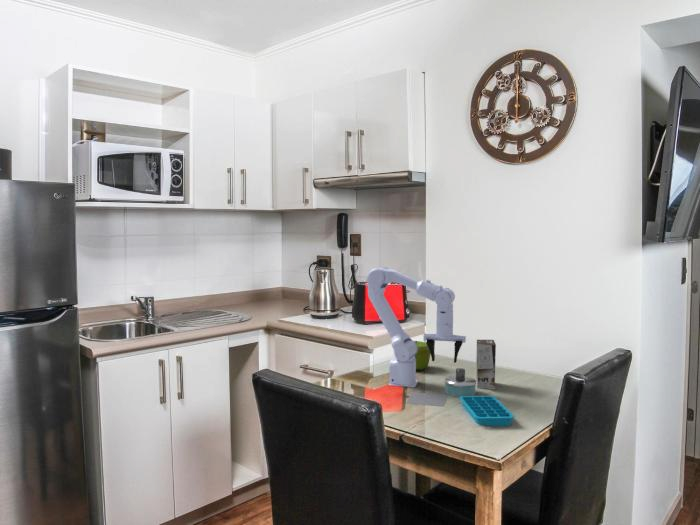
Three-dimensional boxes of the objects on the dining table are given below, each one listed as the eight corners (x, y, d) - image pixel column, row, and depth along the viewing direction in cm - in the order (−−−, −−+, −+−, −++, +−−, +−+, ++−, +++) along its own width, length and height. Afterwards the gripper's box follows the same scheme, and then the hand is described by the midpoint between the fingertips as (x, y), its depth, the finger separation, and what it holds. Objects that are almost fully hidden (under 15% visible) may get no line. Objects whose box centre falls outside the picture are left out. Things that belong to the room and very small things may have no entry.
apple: (397, 364, 225) (397, 337, 224) (426, 363, 226) (426, 337, 225) (403, 372, 212) (404, 344, 212) (434, 372, 214) (434, 343, 213)
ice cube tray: (475, 428, 155) (476, 418, 155) (458, 405, 175) (458, 396, 175) (515, 427, 156) (516, 417, 155) (493, 404, 176) (493, 395, 175)
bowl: (444, 396, 183) (444, 385, 182) (447, 388, 192) (447, 377, 192) (474, 399, 180) (474, 387, 180) (475, 390, 189) (476, 379, 189)
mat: (406, 404, 175) (406, 402, 175) (412, 393, 186) (412, 392, 186) (443, 407, 172) (443, 406, 172) (447, 396, 183) (447, 395, 183)
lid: (442, 385, 182) (442, 371, 182) (447, 377, 192) (447, 364, 192) (473, 388, 179) (473, 374, 178) (477, 380, 188) (477, 367, 188)
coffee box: (495, 390, 190) (496, 344, 189) (476, 388, 191) (477, 343, 190) (493, 382, 199) (494, 339, 198) (475, 381, 200) (476, 338, 199)
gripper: (422, 324, 188) (422, 362, 189) (464, 326, 184) (464, 365, 185) (425, 320, 195) (424, 357, 196) (466, 322, 191) (465, 360, 192)
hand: (444, 361), depth 191 cm, fingers open, 7 cm apart
